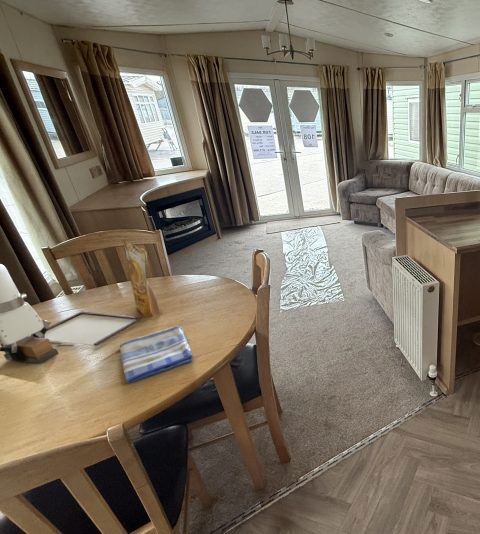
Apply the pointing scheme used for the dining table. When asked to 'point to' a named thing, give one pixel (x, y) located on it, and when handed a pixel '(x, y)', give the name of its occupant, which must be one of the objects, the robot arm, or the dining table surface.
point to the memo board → (89, 327)
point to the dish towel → (154, 353)
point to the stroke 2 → (65, 345)
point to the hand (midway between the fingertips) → (31, 354)
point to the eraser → (34, 349)
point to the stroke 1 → (55, 343)
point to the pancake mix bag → (140, 279)
